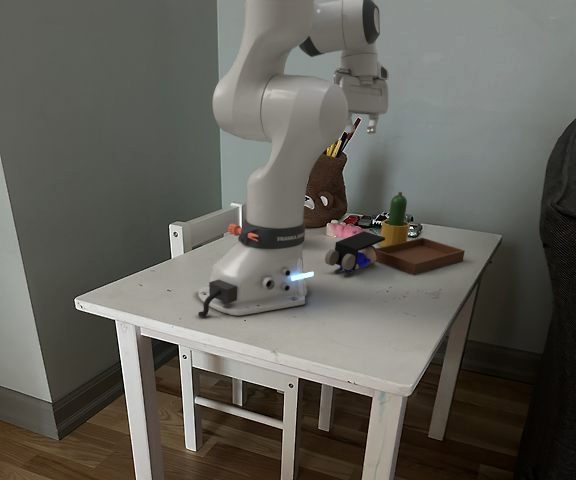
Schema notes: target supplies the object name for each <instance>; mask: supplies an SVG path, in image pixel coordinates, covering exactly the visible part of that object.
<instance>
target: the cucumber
mask: <svg viewBox="0 0 576 480" xmlns="http://www.w3.org/2000/svg"><path fill="white" fill-rule="evenodd" d="M407 205H408V201H407V198H406V197H405V196H404V195H403V191H398V194H396V195H394V196H393V197H392V199H391V201H390V206H389V213H388V219H387V220H388V225H393V226H403V225H404V221H405V220H406V219H405V218H406V210H407Z"/></svg>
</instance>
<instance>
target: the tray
mask: <svg viewBox="0 0 576 480" xmlns="http://www.w3.org/2000/svg"><path fill="white" fill-rule="evenodd" d="M375 248H376V250H377V252H378V257H377V260H376V261H375V262H378V263H381V264H383V265H386V266H389V267H391V268H394V269H397V270H399V271H401V272H405V273H408V274H410V275H413V276H414V275H415V276H416V275H418V274H422V273H425V272H429V271H433V270H435V269H439V268H443V267H446V266H450V265H453V264H457V263H460V262H464V257H465V252H466V250H465V249H461V248H457V247H455V246H451V245H448V244H444V243H441V242H439V241H435V240H432V239H428V238H425V237H419V238H414V239H410V240H407V241H406V242H401V243H397V244H393V245H388V246H384V247H381V246H379V247H375Z"/></svg>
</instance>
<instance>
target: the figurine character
mask: <svg viewBox="0 0 576 480" xmlns="http://www.w3.org/2000/svg"><path fill="white" fill-rule="evenodd" d="M384 240H385V237H382V236H380V235H379V234H375V233H372V232H369V231H365V230H363V231H360V232H359V233H356V234H353V235H351V236H348V237H345V238H343V239H340V240H338V241H335V245H334V249H329V250H328V251H327V252H326V253H325V257H324V262H325V264H326V265H327V266H331V267H332V266H335V265H337V266H339V268H336V269H335V270H334V271H333V274H338V273H340V272H341V271H345V272H347V273H345V274H344V275H343V276H344V277H348V276H350V275H351V274H353V273H354V271H356V269H357V270H358V269H360V268H364V267H368V266H373V264H375V263H376V262H377V261H376V260H377V257H378V252H377V250H376V248H377V247H375V246H374V245H377V244H378V243H379V244H380V242H381V241H384Z"/></svg>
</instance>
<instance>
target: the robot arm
mask: <svg viewBox="0 0 576 480" xmlns="http://www.w3.org/2000/svg"><path fill="white" fill-rule="evenodd" d="M244 2H245V3H244V25H243V33H242V39H241V43H240V46H239V50H238V52H237V55H236V58H235V59H234V61H233V63H232V66H231V67H230V69H229V70H228V72H226V74H225V75H224V76H222V78H220V80H219V81H218V83H217V84H216V87H215V89H214V91H213V94H212V104H211V105H212V112H213V117H214V119H215V122H216V123H217V125H218V127H219V129H220V130H222V131H223V132H225V133H228V134H230V135H232V136H235V137H237V138H240V139H243V140H246V141H254V142H262V143H271V150H270V151H271V152H270V156H269V158H268V161H267V162H266V163H265V164H262V165H260V166H259V167H257V168H255V169H254V170H253V171H252V172H251V173H250V175H249V176H248V177H247V181H246V184H245V185H246V186H245V187H246V188H245V189H246V190H245V191H246V192H245V193H246V196H245V197H246V198H245V200H246V201H245V203H246V204H245V207H246V208H245V219H244V221H243V223H242V226H241V225H239V224H236V223H232V222H231V223H230V224H229V225H228V227H227V230H228V231H227V232H228V233H229V234H230V235H233V236H234V237H235V236H236V237H238V238H237V239H238V241H237V242H236V243H235V244H234V245H233V246H232V247H231V248H230V249H228V250H227V251H226V252H225V254H223V255H222V256H221V257H220V258H219V259H218V260H216V262H215V263H214V264H213V265H212V268H211V271H210V277H209V282H208V285H206V286H203V287H201V288H199V289H198V298H199V299H200V301H201V302H203V310H202V311H198V313H197V315H198V317H200V318H204V317H206V316H208V314H209V311H210V308H212V309H214V310H216V311H218V312H221V313H223V314H228V315H231V316H235V317H236V316H238V317H239V316H246V315H253V314H258V313H263V312H268V311H269V312H270V311H274V310H275V311H276V310H281V309H286V308H292V307H298V306H303V305H305V304H306V296H307V294H308V289H307V284H306V280H305V278H310V277H314V271H309V272H306V273H305V271H304V257H303V256H304V255H303V243H304V242H305V239H306V237H305V236H306V222H305V221H304V215H305V204H306V203H305V202H306V194H307V187H308V183H309V182H308V181H309V178H310V174H311V173H312V170H313V168H314V167H315V164H316V163H317V161H318V160H319V158H320V157H321V156H322V154H323V153H324V152H326V150H328V149H329V148H330V147H332V146H333V145H334V144H336V143H337V141H338V140H340V138H341V137H342V135H343V134H344V132H345V133H346V134H354V133H356V124H354V123H353V118H352V117H353V114H356V115H368V120H369V124H368V126H366V129H367V130H366V131H367V134H368V135H372V134H373V135H374V134H376V133H377V124H378V122H379V117H380V115H385V114H387V112H388V109H389V85H388V82H387V81H388V80H389V78H390V73H389V70H388V69H387V68H386V67H385V66H383V65H382V63H381V62H380V61H379V60H378V51H377V46H376V43H377V39H378V38H379V36H380V35H381V27H380V24H381V23H380V9H379V6H378V5H377V4H376V3H375V0H332V1H327V2H316V0H244ZM297 47H299V49H300V50H301V51H302V52H303V53H304V54H306V56H309V57H310V58H315V57H317V56H321V55H325V54H330V53H335V52H341V55H340V67H337V68H336V69H335V70H334V73H333V74H332V77H333V78H332V79H333V80H332V81H329V80H327V79H324V78H320V77H317V76H313V75H301V74H285V68H286V63H287V60H288V57H289V56H290V55H291V52H292V51H293V50H294V49H295V48H297Z"/></svg>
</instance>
